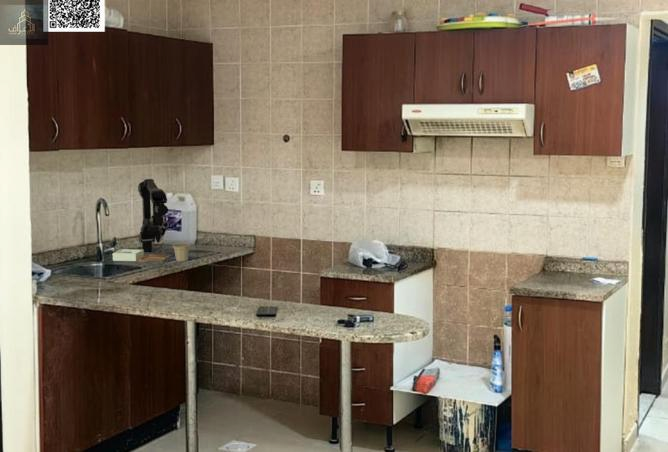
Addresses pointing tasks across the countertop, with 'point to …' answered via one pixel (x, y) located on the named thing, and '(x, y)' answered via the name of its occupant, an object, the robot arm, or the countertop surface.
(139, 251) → the bin
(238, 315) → the countertop surface
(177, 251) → the flower pot
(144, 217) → the robot arm
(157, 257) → the tray
